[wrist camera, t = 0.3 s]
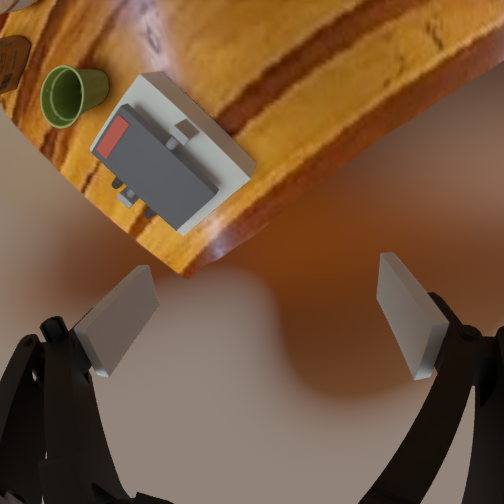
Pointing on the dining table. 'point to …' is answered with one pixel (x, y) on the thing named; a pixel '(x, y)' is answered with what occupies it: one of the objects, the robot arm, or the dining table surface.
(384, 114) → the dining table surface
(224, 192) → the switch box
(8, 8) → the lidded bowl
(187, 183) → the rocker
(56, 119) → the plant pot
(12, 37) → the coffee package
